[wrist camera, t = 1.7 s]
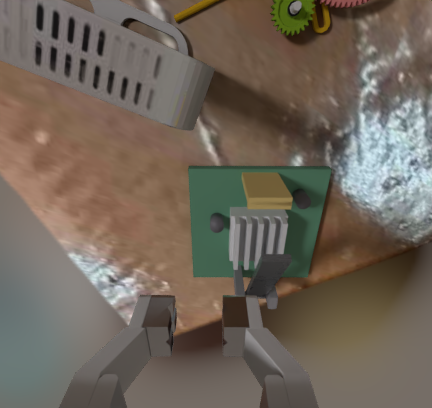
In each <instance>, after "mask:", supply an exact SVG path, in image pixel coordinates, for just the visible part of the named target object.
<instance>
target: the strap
mask: <svg viewBox="0 0 432 408" xmlns="http://www.w3.org/2000/svg"><path fill="white" fill-rule="evenodd" d="M291 262H292V258H291V254H261V257H260V259H259V261H258V264H257V266H256V269H255V271H254V273H253V276H252V278H251V281H250V283H249V285H248V288H247V290H246V292H245V295H256V296H257V297H258V298H266V296H267V295H268V294H269V292H270V291H271V289H272V288H273V287H274V285H275V284H276V283H277V281H278V280H279V279H280V277H281V276H282V275H283V273H284V272H285V271H286V269H287V268H288V267H289V265H290V264H291Z"/></svg>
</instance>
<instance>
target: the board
mask: <svg viewBox="0 0 432 408" xmlns="http://www.w3.org/2000/svg"><path fill="white" fill-rule="evenodd" d="M188 171H189V192H190V213H191V233H192V254H193V275H194V277H234V287H235V295H245V291H244V284H243V277H252V276H253V273H254V271H255V269H256V266H257V264H258V261H259V259H260V257H261V254H291V258H292V262H291V264H290V265H289V267H288V268H287V269H286V271H285V272H284V273H283V275H282V276H281V277H308V273H309V268H310V264H311V259H312V255H313V251H314V246H315V242H316V237H317V233H318V228H319V224H320V219H321V215H322V211H323V206H324V202H325V197H326V193H327V188H328V184H329V180H330V175H331V171H332V169H331V168H330V167H328V166H189V168H188ZM266 301H267V306H268V309H276V307H277V301H278V296H277V292H276V288H275V285H274V287H273V288H272V289H271V291H270V292H269V294H268V295H267V296H266Z"/></svg>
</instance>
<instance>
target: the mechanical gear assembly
mask: <svg viewBox="0 0 432 408" xmlns="http://www.w3.org/2000/svg"><path fill="white" fill-rule="evenodd" d="M217 1H219V0H203V1H201V2H199V3H197V4H195V5H193V6H192V7H190V8H188V9H186V10H184V11H182V12H180V13H178V14H176V15H174V18H175V21H176V23H177V22H178V21H180V20H182V19H184V18H186V17H188V16H190V15H192V14H194V13H196V12H198V11H200V10H202V9H204V8H206V7H208V6H210V5H211V4H213V3H215V2H217ZM315 1H317V0H315ZM368 1H370V0H320V4H321V9H322V14H323V20H324V26H323V28H320V27H319V26H318V21H317V15H316V10H315V6H316V5H315V4H314V0H273V2H274V3H275V4H274V5H272V6H271V8H272V9H273V11H272V12H271V13H270V14H271V15H274V17H273V18H272V20H271V21H275V24H274V26H277V25H278V28H277V30H276V31H279V30H280V29H281V34H283V33H284V32H285V31H286V36H287V35H288V34H289V33H291V36H293V35H294V32H296V34H299V32H300V30H301V31H304V30H305V29H304V26H308V25H309V24H308V21H311V22H312V27H313V30H314V32H316V33H319V34H320V33H323V32H324V31H326V30H327V29H328V27H329V25H330V17H329V11H328V4H329V2H330V4H329V7H332V6H333V5H334V7H335V8H337V7H339V5H340V8H343V7H344V6H345V8H348V7H350V6H351V7H353V6H355V5H356V6H358V5H360V4H361V3H362V4H363V3H365V2H368Z"/></svg>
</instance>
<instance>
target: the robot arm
mask: <svg viewBox="0 0 432 408" xmlns="http://www.w3.org/2000/svg"><path fill="white" fill-rule="evenodd" d="M175 302H176V300H175V296H172V295H140V296H139V298H138V300H137V303H136V306H135V309H134V312H133V315H132V318H131V321H130V324H129V327H127V328H124V329H123V330H122V331H121V332H119V333H118V334H117V335H116V336H115V337H114V338H113V339H112V340H111V341H110V342H108V343H107V344H106V345H105V346H104V347H103V348H102V349H101V350H100V351H99V352H98V353H96V354H95V355H94V356H93V357H92V358H91V359H90V360H89V361H88V362H87V363H85V365H83V366H82V367H81V368H80V369H79V370H78V371H77V372H76V373H75V375H74V377H73V379H72V381H71V383H70V385H69V387H68V390H67V392H66V394H65V396H64V398H63V400H62V403H61V404H60V407H59V408H127V405H126V402H125V399H124V395H123V394H124V393H125V391H126V390H127V389H128V387H129V386H130V385H131V383H132V382H133V381H134V380H135V378H136V377H137V376H138V374H139V373H140V372H141V370H142V369H143V368H144V366H145V365H146V364H147V362H148V361H149V360H150V358H151V357H157V356H171V355H172V347H173V342H174V339H173V333H174V332H175V329H176V320H177V311H176V308H175ZM222 331H223V356H229V357H230V356H231V357H243V358H244V360H245V361H246V363H247V365H248V366H249V368H250V369H251V371H252V372H253V374H254V375H255V377H256V379H257V380H258V382H259V384H260V385H261V387H262V388H263V390H262V396H261V402H260V408H318V404H317V401H316V398H315V394H314V391H313V388H312V384H311V381H310V378H309V375H308V373H307V372H306V371H305V370H304V369H303V368H302V366H301V365H300V364H299V363H298V362H297V361H296V360H295V359H294V358H293V357H292V355H291V354H290V353H289V352H288V351H287V350H286V349H285V348H284V347H283V345H282V344H281V343H280V342H279V341H278V340H277V339H276V338H275V337H274V336H273V335H272V333H271V332H270V331H269V330H268V329H267V328H263V324H262V319H261V313H260V308H259V302H258V297H257V296H256V295H223V309H222Z"/></svg>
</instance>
